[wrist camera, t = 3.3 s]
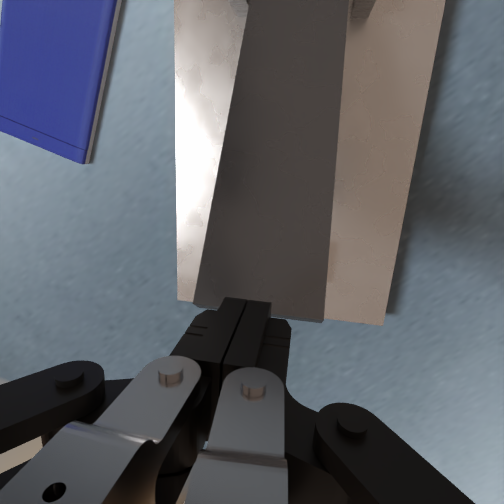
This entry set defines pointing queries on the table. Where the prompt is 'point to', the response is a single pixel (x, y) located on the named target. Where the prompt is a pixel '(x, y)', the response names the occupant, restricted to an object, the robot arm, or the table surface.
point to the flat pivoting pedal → (278, 162)
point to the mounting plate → (349, 137)
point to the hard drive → (55, 71)
